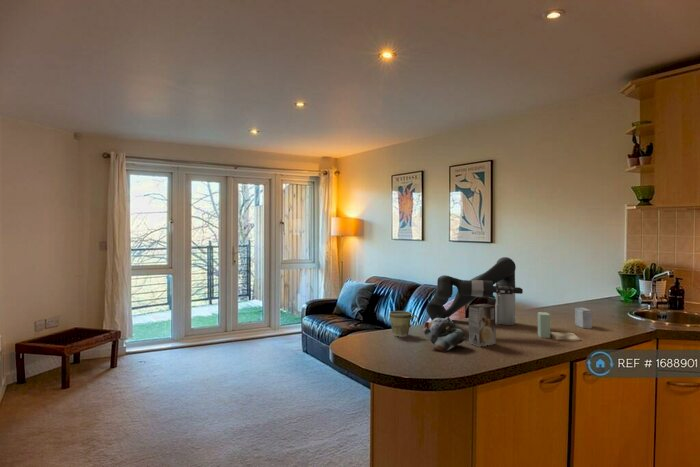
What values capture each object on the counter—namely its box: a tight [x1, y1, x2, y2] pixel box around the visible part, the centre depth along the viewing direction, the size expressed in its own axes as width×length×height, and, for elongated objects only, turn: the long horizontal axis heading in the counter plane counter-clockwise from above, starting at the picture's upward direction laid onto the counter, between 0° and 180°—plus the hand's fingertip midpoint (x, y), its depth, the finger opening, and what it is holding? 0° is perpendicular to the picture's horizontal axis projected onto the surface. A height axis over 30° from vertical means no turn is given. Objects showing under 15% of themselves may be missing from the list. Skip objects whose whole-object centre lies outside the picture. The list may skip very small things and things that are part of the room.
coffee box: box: [468, 303, 497, 348], centre depth 179 cm, size 9×6×16 cm
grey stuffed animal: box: [422, 316, 468, 352], centre depth 174 cm, size 15×12×14 cm
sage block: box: [537, 311, 551, 339], centre depth 192 cm, size 4×6×10 cm, turn 168°
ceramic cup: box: [389, 310, 419, 338], centre depth 193 cm, size 13×10×10 cm
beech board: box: [550, 331, 582, 342], centre depth 190 cm, size 11×12×1 cm
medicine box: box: [574, 307, 593, 329], centre depth 211 cm, size 8×4×9 cm, turn 179°
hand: (521, 290), depth 194 cm, fingers open, 3 cm apart
